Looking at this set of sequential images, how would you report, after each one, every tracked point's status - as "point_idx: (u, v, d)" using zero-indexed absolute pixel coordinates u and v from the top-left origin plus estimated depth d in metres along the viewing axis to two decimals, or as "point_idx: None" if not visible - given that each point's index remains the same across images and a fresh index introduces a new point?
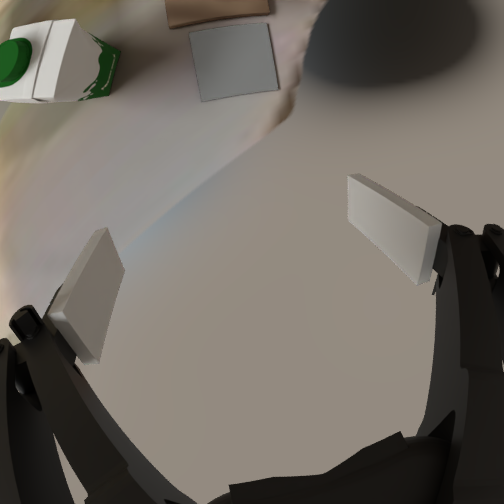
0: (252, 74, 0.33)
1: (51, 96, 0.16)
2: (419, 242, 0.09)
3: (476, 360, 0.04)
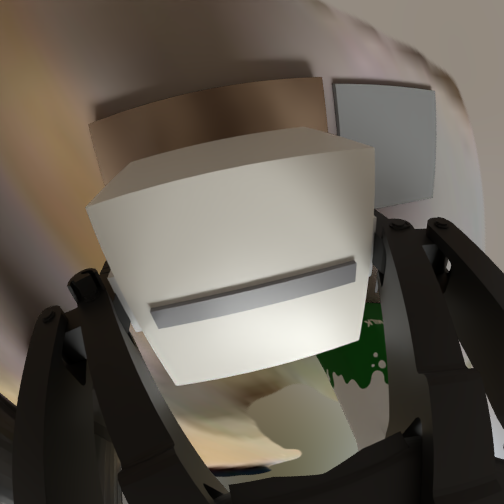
0: (416, 123, 0.20)
1: None
2: None
3: (434, 361, 0.04)
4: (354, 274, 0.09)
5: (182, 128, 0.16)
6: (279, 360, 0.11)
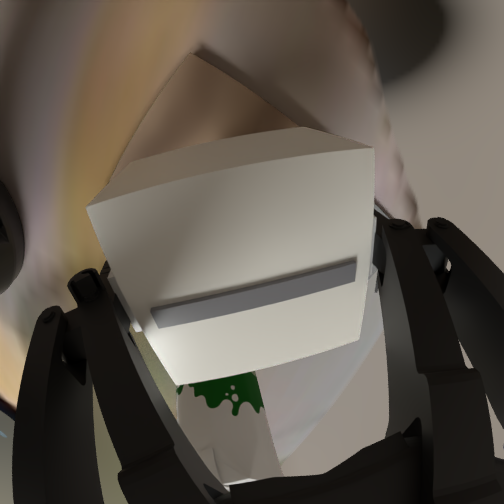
0: None
1: None
2: None
3: (434, 362, 0.04)
4: (354, 274, 0.09)
5: (240, 118, 0.19)
6: (279, 359, 0.11)
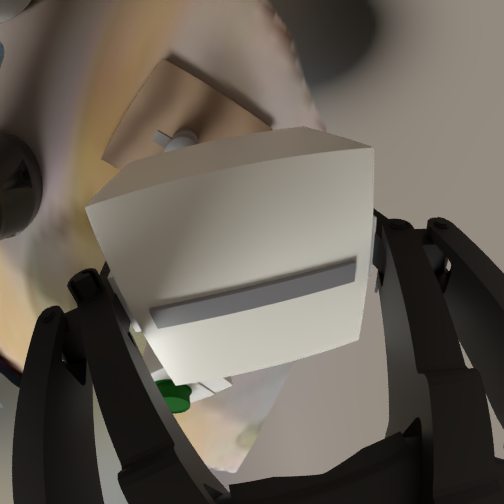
0: None
1: (230, 385, 0.29)
2: None
3: (434, 361, 0.04)
4: (353, 274, 0.09)
5: (195, 99, 0.28)
6: (278, 360, 0.11)
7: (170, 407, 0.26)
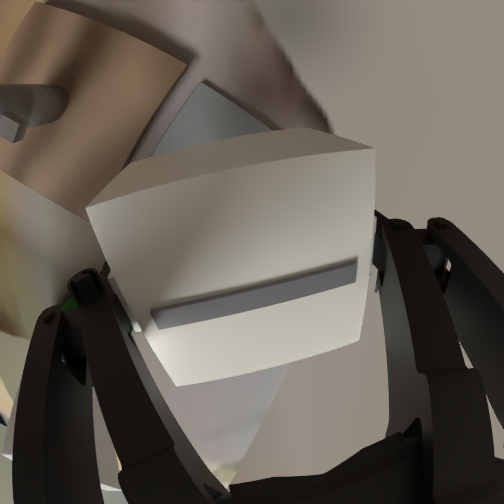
0: None
1: (121, 490, 0.12)
2: None
3: (434, 362, 0.04)
4: (354, 275, 0.09)
5: (66, 41, 0.12)
6: (279, 360, 0.11)
7: None
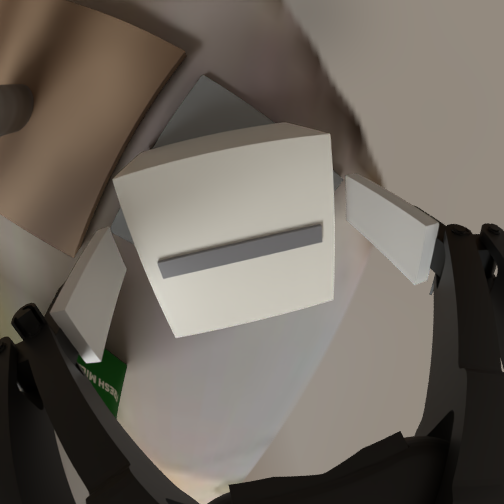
0: None
1: None
2: (416, 241, 0.09)
3: (474, 361, 0.04)
4: (321, 235, 0.12)
5: (34, 29, 0.08)
6: (263, 313, 0.14)
7: None
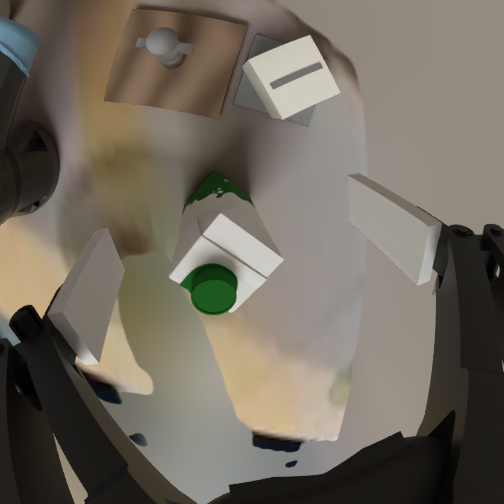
0: None
1: (281, 260, 0.26)
2: (419, 242, 0.09)
3: (476, 361, 0.04)
4: (321, 66, 0.27)
5: (170, 26, 0.26)
6: (314, 101, 0.29)
7: (213, 303, 0.24)
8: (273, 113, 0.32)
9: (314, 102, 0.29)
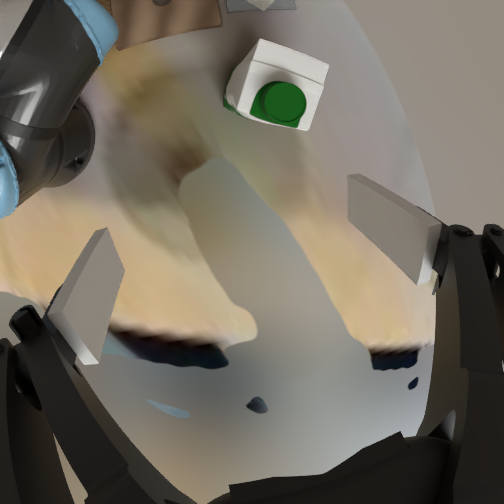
0: None
1: (328, 66, 0.23)
2: (419, 242, 0.09)
3: (476, 361, 0.04)
4: None
5: None
6: None
7: (287, 109, 0.23)
8: (263, 3, 0.28)
9: None
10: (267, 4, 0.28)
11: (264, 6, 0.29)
